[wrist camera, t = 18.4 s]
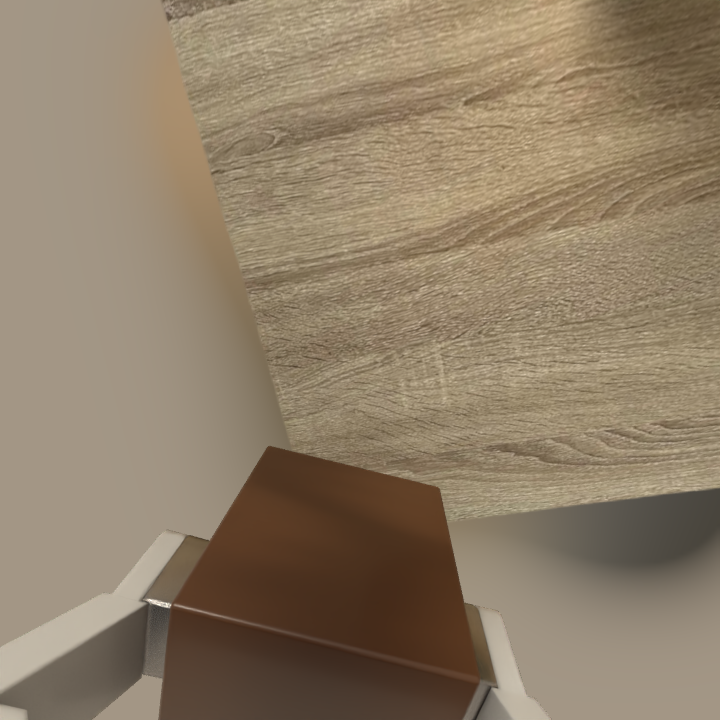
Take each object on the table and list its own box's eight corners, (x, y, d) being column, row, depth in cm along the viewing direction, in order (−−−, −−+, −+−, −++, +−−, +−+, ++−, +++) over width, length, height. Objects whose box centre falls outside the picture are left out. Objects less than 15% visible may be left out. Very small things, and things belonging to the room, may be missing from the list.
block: (243, 578, 11) (147, 796, 6) (268, 444, 9) (168, 605, 5) (395, 616, 11) (400, 859, 6) (440, 486, 9) (484, 682, 5)
